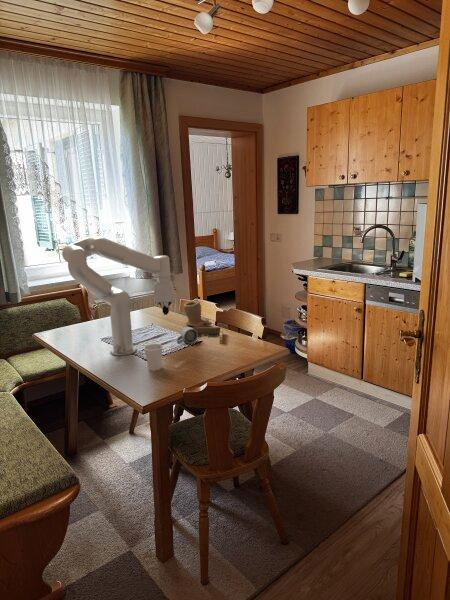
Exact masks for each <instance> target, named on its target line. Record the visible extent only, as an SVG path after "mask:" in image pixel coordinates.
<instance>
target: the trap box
mask: <svg viewBox="0 0 450 600" xmlns="http://www.w3.org/2000/svg"><path fill="white" fill-rule="evenodd" d="M192 328H193V329H194V330H196V331H197V333H198V338H201V337H202V336H207V337H208V338H217V337H218V336H219V345H222V344H223V337H224V336H223V335H224V332H223V331H224V327H223V326H221V327H219V326H218V327H217V326H215V327H211V326H208V327H203V328H199V327H192Z"/></svg>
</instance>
